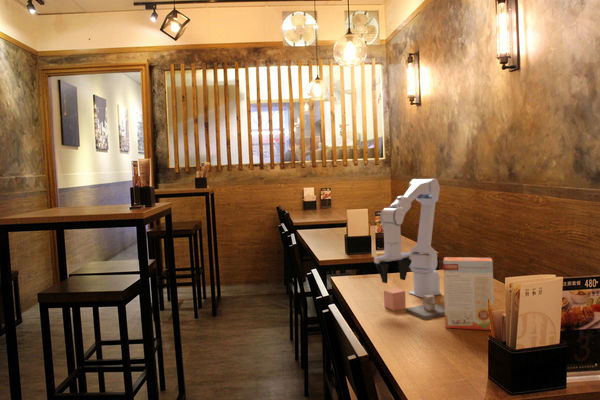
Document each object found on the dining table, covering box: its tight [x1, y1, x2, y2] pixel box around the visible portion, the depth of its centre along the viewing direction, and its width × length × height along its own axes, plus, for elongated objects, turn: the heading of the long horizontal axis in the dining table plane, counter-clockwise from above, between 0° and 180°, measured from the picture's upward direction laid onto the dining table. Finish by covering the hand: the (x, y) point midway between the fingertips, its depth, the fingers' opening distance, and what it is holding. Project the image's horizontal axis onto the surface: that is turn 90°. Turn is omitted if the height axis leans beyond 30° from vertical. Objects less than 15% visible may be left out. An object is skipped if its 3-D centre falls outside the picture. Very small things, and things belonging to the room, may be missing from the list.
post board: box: [405, 294, 445, 320], centre depth 160 cm, size 12×10×6 cm
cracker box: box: [442, 256, 495, 331], centre depth 145 cm, size 14×6×21 cm, turn 71°
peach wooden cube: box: [383, 287, 407, 312], centre depth 168 cm, size 5×5×6 cm
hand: (393, 281), depth 167 cm, fingers open, 7 cm apart
